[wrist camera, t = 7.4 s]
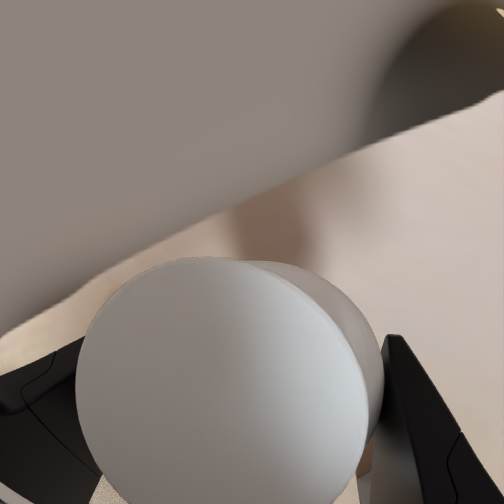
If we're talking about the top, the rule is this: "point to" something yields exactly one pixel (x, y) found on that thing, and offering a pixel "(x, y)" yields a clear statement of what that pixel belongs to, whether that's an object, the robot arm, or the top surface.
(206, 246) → the top surface
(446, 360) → the top surface
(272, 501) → the pill bottle
